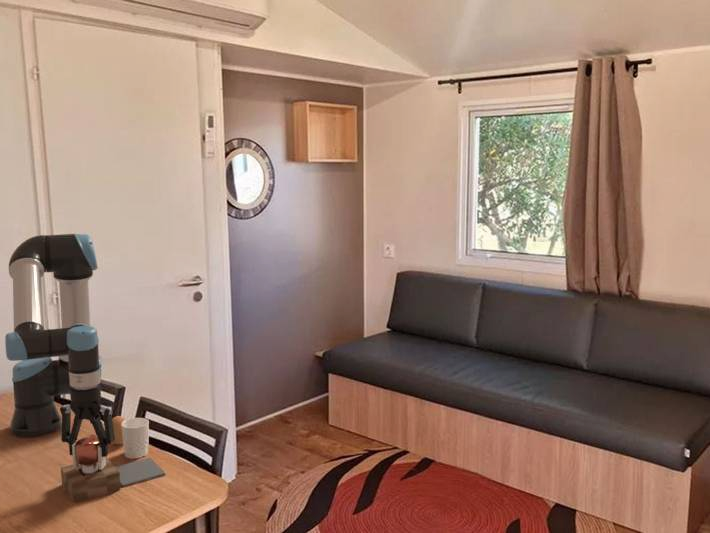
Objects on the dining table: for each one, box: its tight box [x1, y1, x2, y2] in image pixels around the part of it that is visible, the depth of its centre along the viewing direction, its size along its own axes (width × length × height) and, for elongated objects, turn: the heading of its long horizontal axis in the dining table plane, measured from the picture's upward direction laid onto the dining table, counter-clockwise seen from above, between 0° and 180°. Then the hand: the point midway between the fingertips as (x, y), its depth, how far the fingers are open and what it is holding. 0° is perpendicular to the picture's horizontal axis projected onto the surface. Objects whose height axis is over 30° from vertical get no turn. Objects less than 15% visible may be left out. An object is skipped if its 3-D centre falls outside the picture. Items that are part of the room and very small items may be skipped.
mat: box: [115, 457, 166, 488], centre depth 189 cm, size 12×12×1 cm
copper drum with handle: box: [76, 434, 100, 476], centre depth 179 cm, size 6×6×14 cm
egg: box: [111, 415, 126, 446], centre depth 206 cm, size 7×7×9 cm
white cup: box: [121, 417, 150, 459], centre depth 200 cm, size 8×8×10 cm
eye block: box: [60, 456, 121, 504], centre depth 180 cm, size 12×12×5 cm
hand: (89, 466), depth 179 cm, fingers closed on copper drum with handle, 6 cm apart
